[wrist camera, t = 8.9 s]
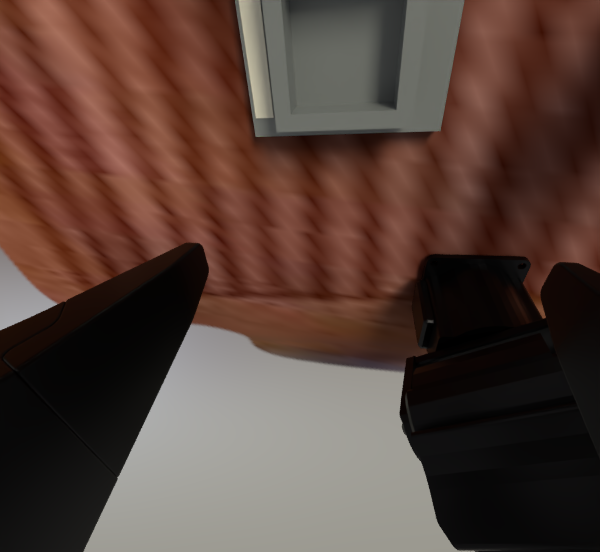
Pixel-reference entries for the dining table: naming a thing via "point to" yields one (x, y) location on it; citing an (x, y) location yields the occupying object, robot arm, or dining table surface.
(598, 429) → the robot arm
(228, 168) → the dining table surface
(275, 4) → the socket block
